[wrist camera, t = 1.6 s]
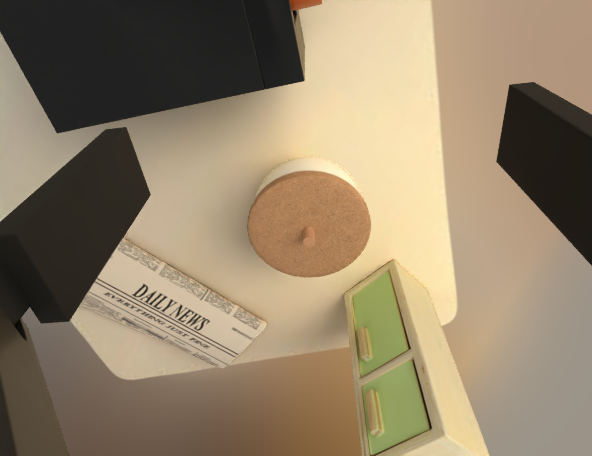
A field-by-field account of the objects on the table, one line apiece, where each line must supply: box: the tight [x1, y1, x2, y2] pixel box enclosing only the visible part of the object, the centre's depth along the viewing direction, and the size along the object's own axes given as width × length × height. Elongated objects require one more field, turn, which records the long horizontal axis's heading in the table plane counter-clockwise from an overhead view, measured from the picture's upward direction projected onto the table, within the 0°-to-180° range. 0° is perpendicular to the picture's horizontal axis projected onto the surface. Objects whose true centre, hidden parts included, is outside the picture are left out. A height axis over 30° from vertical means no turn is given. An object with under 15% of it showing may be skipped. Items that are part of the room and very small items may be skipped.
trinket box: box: [247, 156, 371, 277], centre depth 38 cm, size 11×11×9 cm
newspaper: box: [80, 239, 267, 368], centre depth 51 cm, size 23×12×2 cm, turn 50°
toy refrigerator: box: [344, 260, 489, 456], centre depth 40 cm, size 8×7×21 cm
